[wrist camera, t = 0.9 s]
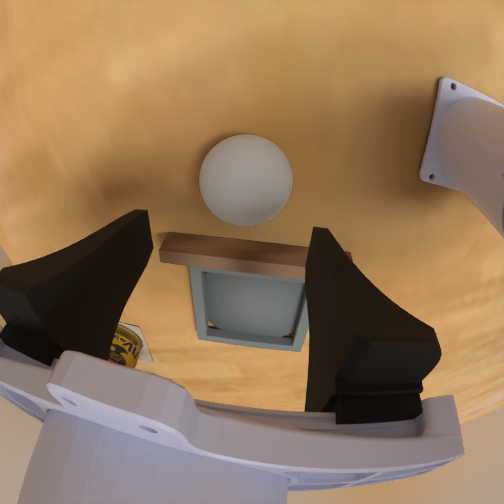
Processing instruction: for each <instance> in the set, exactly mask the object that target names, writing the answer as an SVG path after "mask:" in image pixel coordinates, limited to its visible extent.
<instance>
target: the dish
mask: <svg viewBox="0 0 504 504" xmlns="http://www.w3.org/2000/svg"><path fill="white" fill-rule="evenodd" d="M189 269H190V278H191V287H192V296H193V304H194V312H195V320H196V327H197V334H198V339H199V340H206V341H212V342H219V343H225V344H233V345H240V346H248V347H256V348H265V349H274V350H285V351H296V352H300V351H301V348H302V346H303V343H304V340H305V337H306V334H307V331H308V328H309V321H308V310H307V301H306V291H305V279H295V278H286V277H277V276H268V275H260V274H251V273H243V272H234V271H226V270H218V269H210V268H202V267H194V266H189ZM204 272H206V273H204ZM208 321H209V322H210V323H212V324H213V325H214V326H216V327H217V328H219V329H220V330H218V329H211V328H209V327H208ZM294 331H295V332H294ZM292 332H294V336H293V338H284V337H282V336H285V335H288V334H290V333H292Z"/></svg>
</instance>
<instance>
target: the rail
mask: <svg viewBox="0 0 504 504" xmlns="http://www.w3.org/2000/svg"><path fill="white" fill-rule="evenodd" d="M308 251H309V247H300V246H291V245H283V244H274V243H265V242H256V241H247V240H238V239H229V238H220V237H210V236H201V235H192V234H182V233H173V232H169V233H168V235H167V237H166V238H165V240H164V242H163V244H162V245H161V247H160V249H159V255H160V261H161V262H163V263H171V264H178V265H186V266H194V267H202V268H210V269H218V270H226V271H234V272H243V273H251V274H260V275H268V276H277V277H286V278H295V279H305V264H306V260H307V255H308ZM345 253H346V254H347V256H348V257H349V258H350V259H351V261H352V262H353V260H352V256H351V253H350V252H345Z"/></svg>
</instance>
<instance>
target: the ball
mask: <svg viewBox="0 0 504 504" xmlns="http://www.w3.org/2000/svg"><path fill="white" fill-rule="evenodd" d="M292 185H293V175H292V170H291V166H290V163H289V161H288V159H287V157H286V156H285V154H284V153H283V152H282V150H281V149H280V148H279V147H278V146H277V145H275V144H274V143H273V142H271V141H270V140H268V139H266V138H263V137H261V136H257V135H251V134H241V135H236V136H232V137H229V138H226V139H224V140H223V141H221V142H219V143H218V144H217V145H215V146H214V147H213V148H212V149H211V150H210V151H209V153H208V154H207V156H206V157H205V159H204V161H203V163H202V166H201V170H200V175H199V186H200V191H201V195H202V198H203V200H204V202H205V204H206V205H207V207H208V208H209V210H210V211H211V212H212V213H213V214H214V215H215V216H217V217H218V218H220V219H221V220H223V221H225V222H227V223H229V224H232V225H236V226H245V227H247V226H256V225H259V224H262V223H265V222H267V221H269V220H271V219H272V218H274V217H275V216H276V215H277V214H278V213H279V212H280V211H281V210H282V209H283V208H284V207H285V205H286V203H287V201H288V200H289V197H290V195H291V191H292Z"/></svg>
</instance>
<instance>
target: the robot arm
mask: <svg viewBox="0 0 504 504" xmlns="http://www.w3.org/2000/svg"><path fill="white" fill-rule="evenodd" d="M452 83H453V85H454V88H453V89H451V84H452ZM431 174H433V176H432V178H429V176H430V175H431ZM419 177H420V178H421V180H422V181H424V182H428V183H432V184H436V185H439V186H443V187H447V188H450V189H454V190H458V191H461V192H463V193H464V194H465V195H466V196H467V198H468V199H469V200H470V201H471V202H472V203H473V204H474V205H475V206H476V207H477V208H478V209H479V210H480V211H481V212H482V214H483V215H484V216H485V217H486V218H487V219H488V220H489V221H490V223H491V224H492V225H493V226H494V227H495V228H496V230H497V231H498V232H499V233H500V234H501V236H502V237H503V238H504V105H503V104H501V103H499V102H497V101H495V100H494V99H492V98H490V97H488V96H486V95H484V94H482V93H480V92H478V91H476V90H474V89H472V88H470V87H468V86H466V85H464V84H462V83H460V82H457V81H455V80H453V79H451V78H448V77H442V78H441V79H440V82H439V88H438V94H437V100H436V105H435V110H434V115H433V120H432V124H431V129H430V133H429V137H428V141H427V146H426V149H425V153H424V157H423V161H422V164H421V168H420V171H419ZM152 250H153V242H152V236H151V230H150V223H149V217H148V210H137V209H136V210H133V211H131V212H129V213H127V214H125V215H123V216H122V217H120V218H118V219H116V220H115V221H113V222H111V223H110V224H108V225H106V226H105V227H103V228H101V229H100V230H98V231H96V232H94V233H93V234H91V235H89V236H87V237H86V238H84V239H82V240H80V241H78V242H76V243H74V244H72V245H70V246H68V247H66V248H64V249H62V250H59V251H57V252H54V253H52V254H49V255H47V256H44V257H41V258H38V259H36V260H32V261H29V262H26V263H22V264H18V265H14V266H10V267H5V268H3V269H2V270H1V271H0V314H1V316H2V317H3V319H4V320H5V321H6V323H7V324H6V325H5V327H4V328H3V327H2V326H1V325H0V395H1V396H2V397H4V398H5V399H7V400H8V401H9V402H11V403H12V404H14V405H15V406H17V407H18V408H20V409H21V410H23V411H24V412H26V413H27V414H29V415H31V416H32V417H34V418H35V419H37V420H39V421H40V422H42V423H44V424H43V426H42V429H41V431H40V434H39V436H38V439H37V442H36V445H35V447H34V450H33V453H32V456H31V459H30V462H29V465H28V468H27V471H26V474H25V478H24V481H23V484H22V488H21V491H20V495H19V499H18V503H17V504H286V503H287V492H288V491H304V490H305V491H306V490H325V489H338V488H347V487H355V486H363V485H370V484H376V483H382V482H388V481H393V480H398V479H403V478H408V477H412V476H417V475H421V474H425V473H428V472H430V471H432V470H435V469H437V468H439V467H441V466H444V465H446V464H448V463H450V462H452V461H454V460H456V459H458V458H460V457H462V456H463V455H464V448H463V441H462V435H461V430H460V424H459V419H458V414H457V410H456V405H455V401H454V397H453V395H445V396H438V397H431V398H427V399H424V400H422V401H421V399H420V394H419V393H421V392H422V391H423V385H422V380H423V379H424V378H425V377H426V376H427V375H428V374H429V373H430V372H431V371H432V370H433V369H434V368H435V366H436V365H437V363H438V362H439V360H440V358H441V355H442V354H441V348H440V345H439V342H438V339H437V336H436V333H435V331H434V328H432V327H431V326H429V325H427V324H426V323H424V322H422V321H420V320H419V319H417V318H415V317H414V316H412V315H411V314H409V313H408V312H406V311H405V310H404V309H402V308H401V307H399V306H398V305H397V304H395V303H394V302H393V301H392V300H390V299H389V298H388V297H387V296H386V295H384V294H383V293H382V292H381V291H380V290H379V289H378V288H377V287H375V286H374V285H373V284H372V283H371V282H370V281H369V280H368V279H367V278H366V277H365V276H364V274H363V273H362V272H361V271H360V270H359V269H358V268H357V266H356V265H355V264H354V263H353V262H352V261H351V259H350V258H349V257H348V256H347V254H346V253H345V252H344V250H343V249H342V248H341V246H340V245H339V243H338V242H337V241H336V239H335V238H334V236H333V235H332V234H331V232H330V231H329V230H328V229H327V228H319V227H313V232H312V236H311V241H310V246H309V251H308V255H307V260H306V264H305V291H306V301H307V310H308V321H309V336H310V338H309V364H308V380H307V392H306V402H305V411H304V412H296V411H281V410H269V409H259V408H250V407H242V406H234V405H227V404H220V403H214V402H208V401H202V400H197V399H193V397H192V396H191V395H190V393H189V392H188V391H187V390H186V389H185V388H184V387H183V386H181V385H179V384H177V383H176V382H174V381H172V380H170V379H168V378H165V377H162V376H159V375H156V374H153V373H150V372H146V371H142V370H138V369H134V368H130V367H126V366H123V365H119V364H116V363H112V362H109V361H108V357H109V353H110V349H111V345H112V342H113V338H114V335H115V332H116V329H117V326H118V323H119V320H120V317H121V315H122V312H123V309H124V307H125V305H126V303H127V301H128V299H129V297H130V295H131V293H132V292H133V290H134V288H135V286H136V284H137V282H138V280H139V279H140V277H141V275H142V273H143V271H144V269H145V268H146V266H147V263H148V261H149V258H150V256H151V253H152Z"/></svg>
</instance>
